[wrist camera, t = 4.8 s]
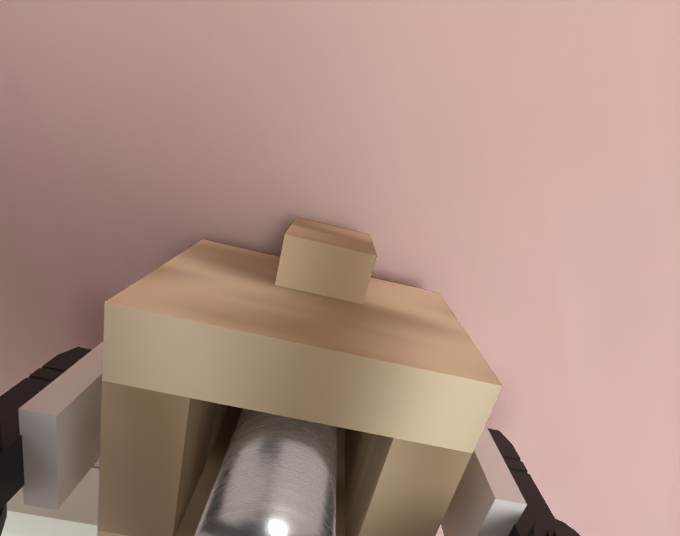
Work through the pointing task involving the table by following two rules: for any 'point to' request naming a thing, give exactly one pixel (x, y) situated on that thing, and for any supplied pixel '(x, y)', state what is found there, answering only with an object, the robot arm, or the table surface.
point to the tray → (57, 513)
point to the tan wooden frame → (286, 382)
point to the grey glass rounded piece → (274, 480)
